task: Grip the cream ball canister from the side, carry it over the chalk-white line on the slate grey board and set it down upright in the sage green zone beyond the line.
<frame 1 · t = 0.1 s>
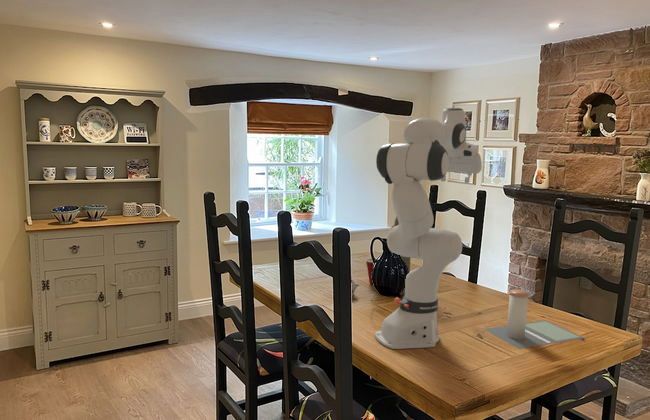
hand: (455, 181, 205), 52 cm above the table, tool tilted 20°, fingers open, 8 cm apart
plastic cup: (375, 284, 242), on the table
ball canister: (515, 336, 180), point 1 cm above the table, touching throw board
game die: (347, 296, 224), on the table
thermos: (399, 292, 231), on the table
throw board: (533, 336, 183), on the table
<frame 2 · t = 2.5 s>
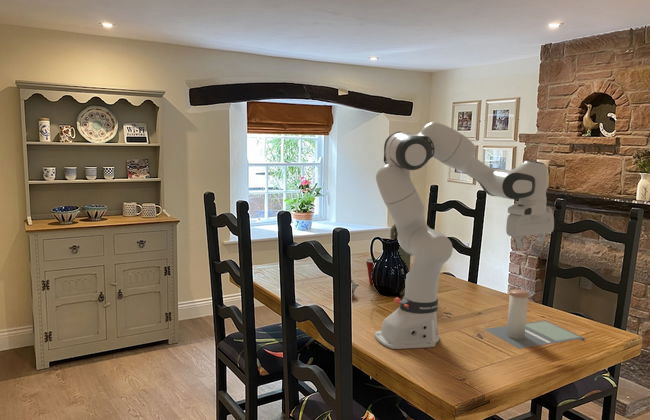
hand: (529, 247, 179), 32 cm above the table, tool pointing down, fingers open, 8 cm apart
nothing on the table moved.
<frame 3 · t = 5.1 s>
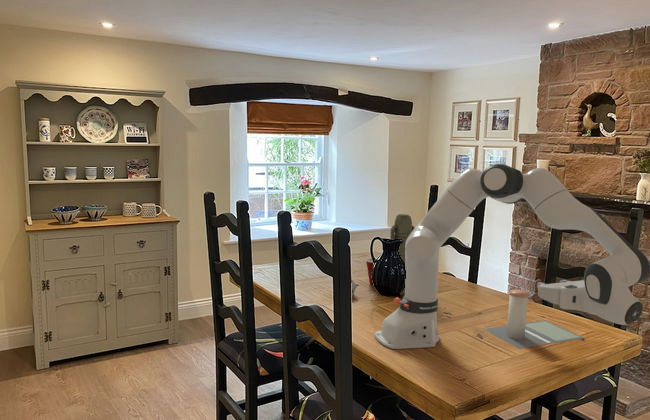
hand: (550, 283, 165), 24 cm above the table, tool horizontal, fingers open, 8 cm apart
nothing on the table moved.
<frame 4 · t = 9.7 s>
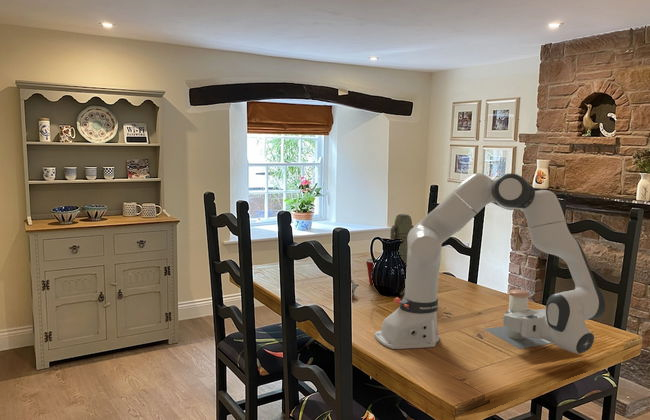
hand: (515, 311, 180), 10 cm above the table, tool horizontal, fingers closed on ball canister, 6 cm apart
ball canister: (515, 336, 180), point 1 cm above the table, touching gripper, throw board
everything else where it was.
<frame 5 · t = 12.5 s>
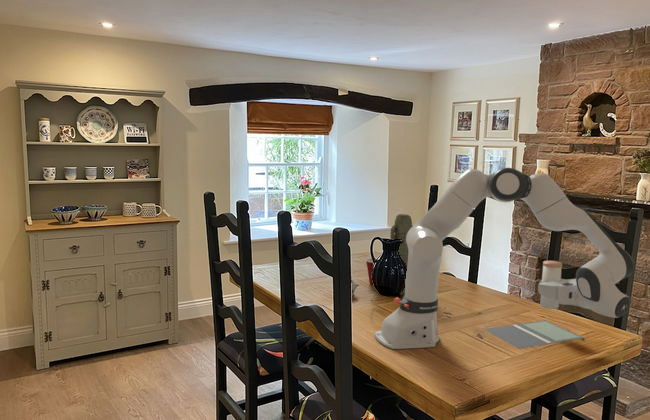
hand: (549, 281, 183), 19 cm above the table, tool horizontal, fingers closed on ball canister, 6 cm apart
ball canister: (549, 306, 184), point 11 cm above the table, touching gripper
everything else where it was.
when the fingers open (11 cm above the table, at t = 15.2 s): ball canister drops 1 cm, resting on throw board.
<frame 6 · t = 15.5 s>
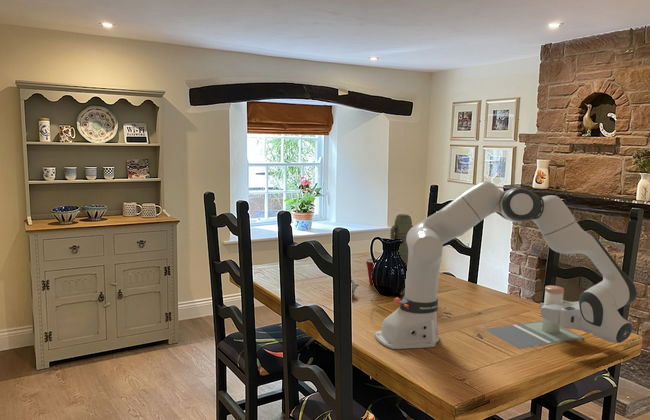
hand: (551, 303, 186), 11 cm above the table, tool horizontal, fingers open, 8 cm apart
ball canister: (550, 330, 186), point 1 cm above the table, touching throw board
everything else where it was.
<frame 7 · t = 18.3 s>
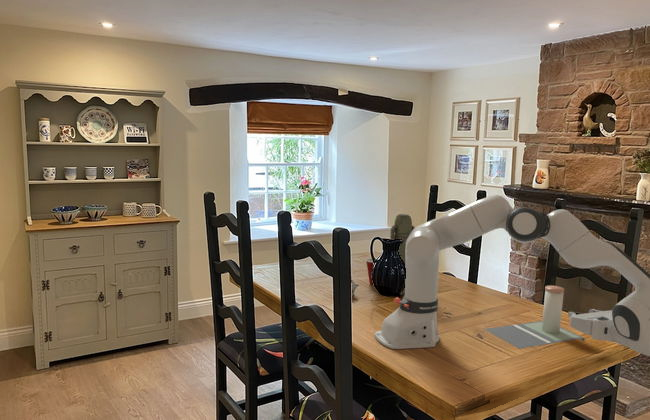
hand: (580, 312, 173), 12 cm above the table, tool horizontal, fingers open, 8 cm apart
nothing on the table moved.
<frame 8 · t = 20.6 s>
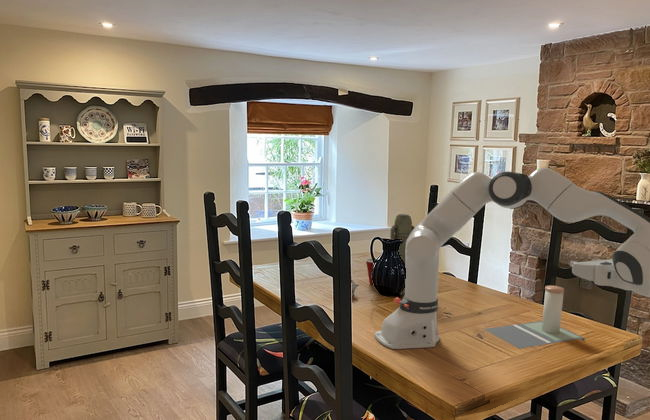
hand: (582, 262, 169), 30 cm above the table, tool horizontal, fingers open, 8 cm apart
nothing on the table moved.
at the end: ball canister inside the target area (0.6 cm from its centre), point 1.1 cm above the table; ball canister tilted 0°; the gripper is holding nothing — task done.
